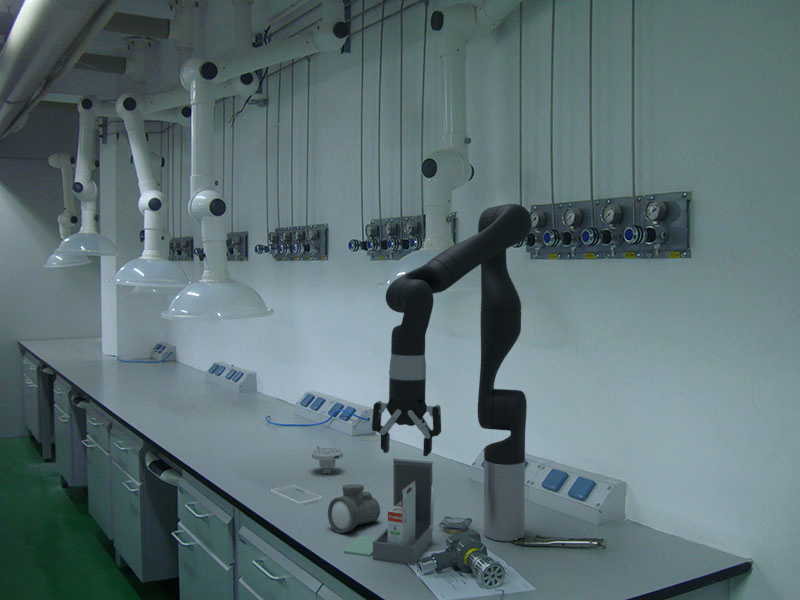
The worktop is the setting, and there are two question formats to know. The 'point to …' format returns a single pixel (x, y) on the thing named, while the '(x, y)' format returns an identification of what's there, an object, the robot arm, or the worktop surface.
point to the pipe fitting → (352, 509)
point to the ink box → (403, 519)
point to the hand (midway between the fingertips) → (405, 453)
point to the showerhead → (327, 457)
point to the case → (424, 511)
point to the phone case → (273, 491)
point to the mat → (361, 546)
